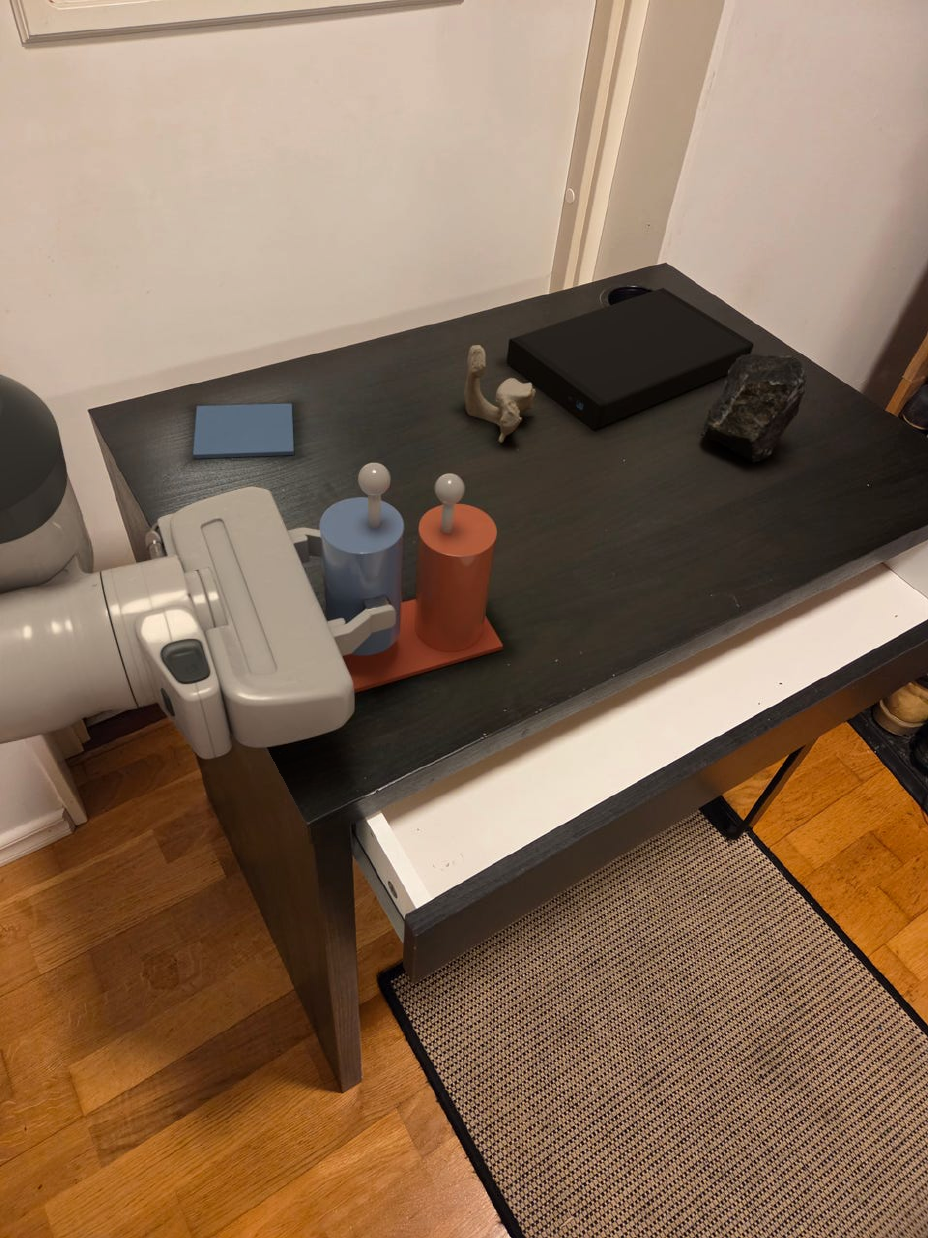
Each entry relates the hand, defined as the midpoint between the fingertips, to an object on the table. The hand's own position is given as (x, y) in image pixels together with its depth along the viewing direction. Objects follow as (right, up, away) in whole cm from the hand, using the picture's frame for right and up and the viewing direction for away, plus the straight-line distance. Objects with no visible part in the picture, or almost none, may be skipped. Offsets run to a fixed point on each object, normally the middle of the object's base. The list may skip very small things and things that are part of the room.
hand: (375, 576), depth 58 cm
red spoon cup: (+5, -3, +8) cm, 10 cm away
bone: (+10, +16, +27) cm, 33 cm away
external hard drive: (+24, +25, +36) cm, 50 cm away
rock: (+33, +14, +27) cm, 45 cm away
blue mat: (-15, +15, +23) cm, 31 cm away
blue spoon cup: (-1, -4, +4) cm, 5 cm away
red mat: (+2, -5, +7) cm, 8 cm away
